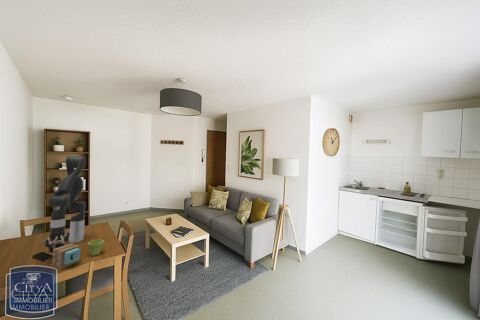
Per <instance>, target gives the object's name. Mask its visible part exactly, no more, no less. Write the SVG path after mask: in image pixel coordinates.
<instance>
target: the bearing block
mask: <svg viewBox="0 0 480 320" xmlns="http://www.w3.org/2000/svg"><path fill="white" fill-rule="evenodd" d="M79 246H80V245H78V244H74V243H70V242H69V243H67V244H64V246H61V247H58V248H55V249H53V252H52V262H51V263H52V265H51V267H52V266H53V268H55V267H56V269H58V270H62V269H64V268H66V267H68V266H71V265H73V264H77V263H78V262H79V260H77V261H75V262H72V263H70V264H64V255H65V252H67V251H70V250H73V249H76V248H78V249H80V248H79Z"/></svg>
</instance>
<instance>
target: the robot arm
mask: <svg viewBox="0 0 480 320" xmlns="http://www.w3.org/2000/svg"><path fill="white" fill-rule="evenodd" d="M86 162H87V160H86V157H84V156H80V155H67V157H66V159H65V168H66V172H67V173H66V174H67V176H66V177H64V178H63V179H62V180H61V181H60V184H58V188H57V190H55V192H54V193H52V195H51V196H50V197H49V199H48V206H49V207H52V208H53V207H56V208H57V207H59V208H58V209H55V210H53V211H52V212H51V213H50V214H51V215H50V224H49V236H48V237H47V238H43V244H44V247H45V248H48V252H49V253H51V254H53V245H54V243H56V242H60V243H61V244H60V247H61V246H64V245H65V243H66V242H69V244H70V243H72V244H74V243H79V242H82V241H84V237H85V220H86V219H85V217H86V216H85V215H86V207H87V202H86V201H85V200H77V201H76V198H77V197H78V196H79V195H80V194H81V192H82V191H83V189H84V181H83V179H82V177H81V176H80V174H82V173H81V172H82V171H83V170H84V168H85V166H86ZM67 195H68V196H67ZM67 210H68V211H69V212H70V213H73V214H74V213H78V214H76V215H74V216H73V215H72V216H71V217H70V223H69V231H67V232H66V212H67Z"/></svg>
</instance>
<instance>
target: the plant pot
mask: <svg viewBox="0 0 480 320" xmlns="http://www.w3.org/2000/svg"><path fill="white" fill-rule="evenodd" d="M103 244H104V240H103V239H94V240H90V241H89V242H87V245H88V249H89V256H92V257H93V256H98V255H100V254H101V251H102V246H103Z"/></svg>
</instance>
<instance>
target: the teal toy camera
mask: <svg viewBox="0 0 480 320" xmlns="http://www.w3.org/2000/svg"><path fill="white" fill-rule="evenodd" d="M75 253H77V254H78V256H77V258H75V259H72V258H71V255H72V254H75ZM80 255H81V248H79V249H78V248H76V249H73V250H70V251H67V252H65V255H64V264H70V263H72V262H75V261H77V260H78V261H79V260H80V259H81V258H80Z"/></svg>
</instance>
